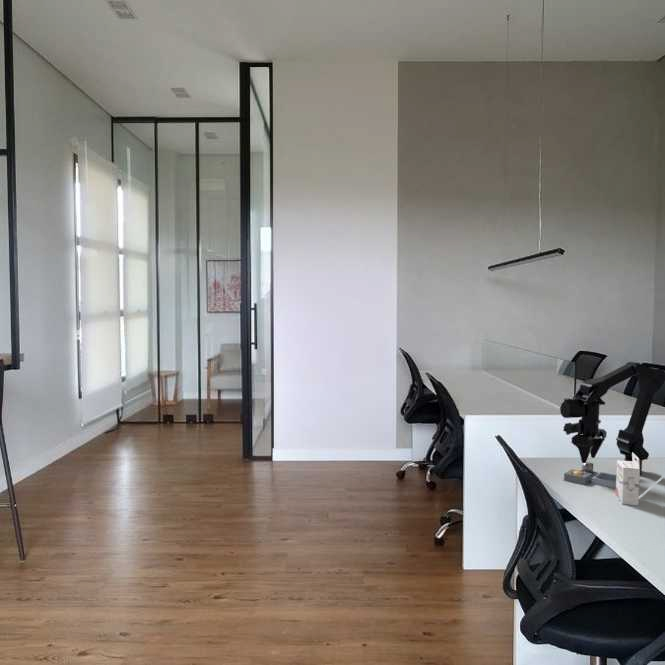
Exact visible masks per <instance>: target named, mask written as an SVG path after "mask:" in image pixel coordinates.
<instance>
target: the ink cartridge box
mask: <svg viewBox="0 0 665 665" xmlns="http://www.w3.org/2000/svg"><path fill="white" fill-rule="evenodd" d="M635 458H636V460H637V462H636V461H635ZM616 475H617V476H616V489H615V496H616V497H617V498H618V501H619V502H620V503H621V505H627V506H639V501H640V500H639V498H640V477H641V476H640V464H639V458H638V457H637V456H636V455H635V454H634V453H633V452H632V461H625V460H616Z"/></svg>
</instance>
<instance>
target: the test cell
mask: <svg viewBox="0 0 665 665" xmlns="http://www.w3.org/2000/svg"><path fill="white" fill-rule="evenodd" d="M581 464H582V465H581V467H582V468H581V470H582V471H583V472H588V473H592V474H593V471H594V463H593V462H590V461H586V463H582V462H581Z"/></svg>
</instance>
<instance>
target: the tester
mask: <svg viewBox="0 0 665 665" xmlns="http://www.w3.org/2000/svg"><path fill="white" fill-rule="evenodd" d="M574 471H581V472H583V471H582V469H580V470H577V469H570V470H568V471H567V472H565V473H563V481H565V482H570V483H574V484H579V485H583V486H588V485H589V484H590V483H591V478H592V477H594V476H595V475H597V474H598V473H599V472H598V471H594V470H593V474H592V473H588V472H583V475H582V476H581V475H576V474H574Z"/></svg>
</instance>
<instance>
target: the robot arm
mask: <svg viewBox="0 0 665 665" xmlns="http://www.w3.org/2000/svg"><path fill="white" fill-rule="evenodd" d="M635 376H636V377H638V380H637V381H638V388H639V390H638V394H637V397H636V401H635V403H634V407H633V409H632V412H631V416H630V418H629V422H628V425H627V426H626V427H625V428H624V429H619V430H618V433H617V437H616V438H615V440H616V446H617V448H618V450H619V454H620V455H624V461H632V452H633V453H634V454H635V455H636V456H637V457H638V458H639V464H640V477H641V476H642V475H643V474H645V471H643V461H645V460H648V458H649V456H650V453H649V452H648V450H646V448H645V447H644V443H645V442H644V441H645V440H644V439H645V438H644V435H643V430H644V427H645V424H646V421H647V418H648V415H649V412H650V410H651V406H652V402H653V401H654V397H655V394H657V392H658V391H660V390H661V389H662V387H663V386H664V383H665V370H663V369H661V368H656V367H652V366H651V367H650V366H646V365H644V364H642V363H640V362H636V361H629V362H627V363H626V364H624V365H622V366H620V367H619V368H616V369H614V370H612V371H610V372H608V373H606V374H605V375H603V376H600V377H596V378H591V379H587V380H584V381H582V382H581V383H580V386H579V388H578V389H577V391H576V392H575V394H574V395H573V397H572V398H569V397H565V398H564V400H563V402H562V403H561V405H560V407H559V410H560V411H559V412H560V414H561V416H562V417H563V418H565V419H571V418H572V419H573V418H580V419H579V420H578V422H575V423H571V422H566V423H564V426H563V429H562V430H563V432H565V434H566V435H568V436H569V435H570V434H575V435H573V436H572V437H571V444H572V445H573V446H575V448H577V449H578V453H579V456H580V459H581V464H582V463H586V462H588V459H589V457H590V458H591V459H595V458H596V456H597V454H598V452H599V450H600V448H601V446H602V445H603V444H604V441H605V439H606V438H607V433H608V432H607V431H606V430H605V429H604V428H600V427H599V425H600V424H601V423H602V422H601V421H602V420H601V419H600V406H601V405H606V402H605V401H604V400H603V399H602V397H603V396H605V395H606V394H607V393H608V391H609V390H610V389H611V388H613V387H614V386H617V385H619V384H620V383H622V382H624V381H626V380H628V379H630V378H631V377H635ZM576 433H577V434H576ZM635 461H636V462H637V460H636V458H635Z"/></svg>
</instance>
